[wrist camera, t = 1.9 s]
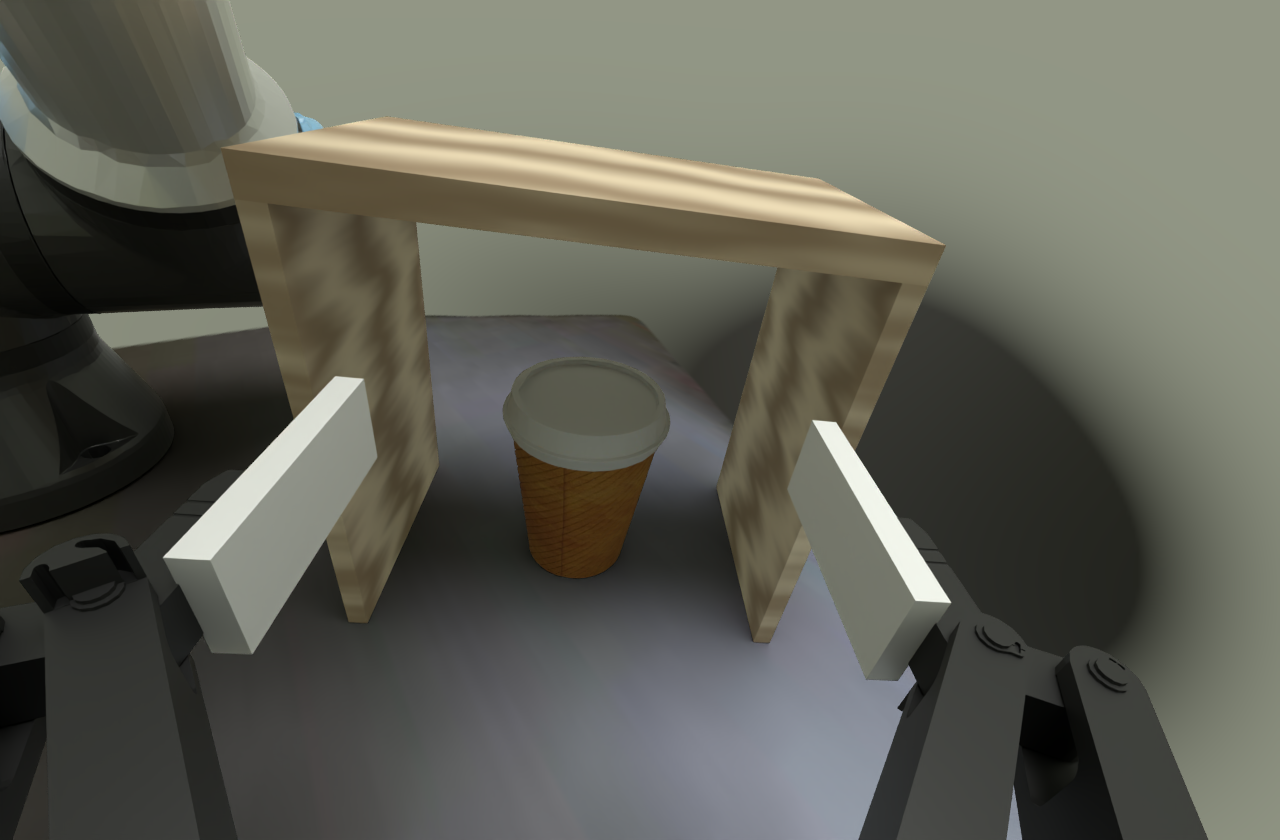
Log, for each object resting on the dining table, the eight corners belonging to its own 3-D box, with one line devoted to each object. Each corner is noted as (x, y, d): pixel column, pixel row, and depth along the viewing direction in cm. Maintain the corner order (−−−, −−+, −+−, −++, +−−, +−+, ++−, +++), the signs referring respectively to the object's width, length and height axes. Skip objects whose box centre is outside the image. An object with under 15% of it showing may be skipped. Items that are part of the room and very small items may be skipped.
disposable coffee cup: (572, 478, 42) (584, 339, 35) (671, 541, 37) (705, 397, 31) (473, 543, 35) (464, 386, 28) (579, 629, 30) (598, 467, 24)
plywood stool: (769, 642, 31) (945, 245, 19) (348, 622, 29) (220, 147, 16) (728, 488, 43) (819, 178, 30) (425, 464, 41) (386, 116, 28)
